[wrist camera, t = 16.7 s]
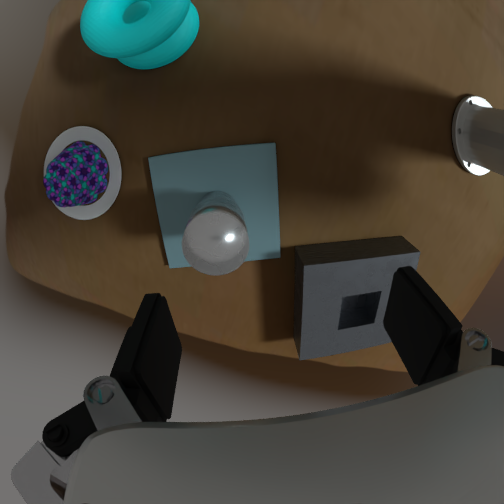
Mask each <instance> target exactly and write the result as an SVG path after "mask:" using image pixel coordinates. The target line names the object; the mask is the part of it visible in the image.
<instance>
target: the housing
mask: <svg viewBox="0 0 504 504" xmlns="http://www.w3.org/2000/svg"><path fill="white" fill-rule="evenodd" d="M419 256H420V251H419V250H418V249H416V248H415V247H414V246H413V245H412V244H411V243H410V242H408V241H407V240H406V239H405V238H404V237H403V236H395V237H385V238H374V239H364V240H353V241H343V242H332V243H322V244H312V245H301V246H295V293H294V336H293V337H294V341H295V345H296V349H297V352H298V356H299V360H305V359H311V358H317V357H323V356H329V355H334V354H340V353H345V352H350V351H355V350H359V349H364V348H368V347H373V346H377V345H381V344H385V343H389V342H392V341H391V339H390V337H389V335H388V334H387V332H386V330H385V328H384V325H383V319H384V315H385V311H386V307H387V302H388V298H389V294H390V289H391V284H392V280H393V275H394V272H396V271H397V269H398V268H399V267H405V266H412V267H413V268H414V269H415V270H416V269H417V265H418V260H419Z"/></svg>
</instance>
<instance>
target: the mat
mask: <svg viewBox="0 0 504 504" xmlns="http://www.w3.org/2000/svg"><path fill="white" fill-rule="evenodd" d="M148 160H149V167H150V173H151V179H152V185H153V191H154V196H155V202H156V207H157V212H158V217H159V222H160V227H161V232H162V237H163V241H164V246H165V250H166V255H167V259H168V263H169V267H170V268H178V267H189V266H191V265H190V264H189V263H188V262H187V260H186V258H185V256H184V254H183V251H182V238H183V234H184V231H185V228H186V225H187V222H188V219H189V216H190V214H191V212H192V210H193V208H194V207H195V206H196V205H197V204H198V203H199V202H200V201H201V200H202V198H203V197H204V196H205V195H206V194H208V193H210V192H213V191H222V192H226V193H228V194H229V195H230V196H232V197H233V199H234V200H235V202H236V204H237V205H238V206H239V207H240V209H241V210H242V212H243V214H244V217H245V223H246V228H247V233H248V238H249V252H248V255H247V257H246V259H245V261H252V260H262V259H272V258H280V230H279V203H278V181H277V161H276V143H259V144H246V145H234V146H224V147H215V148H206V149H198V150H191V151H184V152H177V153H170V154H164V155H158V156H153V157H149V158H148Z"/></svg>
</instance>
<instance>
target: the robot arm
mask: <svg viewBox="0 0 504 504" xmlns="http://www.w3.org/2000/svg"><path fill="white" fill-rule="evenodd" d="M452 140H453V146H454V150H455V153H456V156H457V158H458V160H459V162H460V164H461V165H462V167H463V168H464V169H465V170H466V171H468V172H470V173H472V174H475V175H484V174H486V173H488V172H489V171H490V170H491V171H493V172H496V173H498V174H500V175H503V176H504V110H501V109H496V108H493V107H492V106H491V105H490V104H489V102H487V101H486V100H485V99H484V98H482V97H479V96H467V97H465V98H464V99H462V100H461V101H460V103H459V104H458V106H457V108H456V110H455V113H454V116H453V122H452ZM383 325H384V328H385V330H386V332H387V334H388V335H389V337H390V339H391V341H392V343H393V344H394V346H395V348H396V350H397V352H398V354H399V356H400V357H401V359H402V361H403V363H404V365H405V367H406V369H407V371H408V373H409V375H410V377H411V378H412V380H413V382H414V384H417V385H418V386H417V387H414V388H411V389H408V390H405V391H401V392H398V393H395V394H391V395H388V396H385V397H381V398H377V399H374V400H370V401H366V402H362V403H358V404H353V405H349V406H344V407H340V408H335V409H329V410H324V411H318V412H313V413H307V414H300V415H293V416H285V417H277V418H268V419H258V420H244V421H226V422H166V420H167V419H170V418H171V413H172V407H173V400H174V394H175V388H176V382H177V376H178V370H179V364H180V359H181V352H182V347H181V342H180V339H179V337H178V334H177V331H176V328H175V325H174V322H173V319H172V316H171V313H170V310H169V307H168V304H167V301H166V298H165V297H164V296H162V297H161V295H160V293H152V294H145V296H144V298H143V300H142V303H141V305H140V307H139V310H138V312H137V314H136V317H135V319H134V322H133V324H132V326H131V327H129V328H128V330H127V332H126V335H125V337H124V340H123V343H122V345H121V347H120V350H119V353H118V355H117V358H116V360H115V363H114V366H113V368H112V371H111V374H110V376H100V377H97V378H95V379H93V380H92V381H90V382H89V383H88V384H87V386H86V387H85V390H84V394H83V397H84V401H83V402H81V403H80V404H78V405H76V406H75V407H73V408H71V409H70V410H68V411H66V412H65V413H63V414H61V415H60V416H58V417H56V418H55V419H53V420H51V421H50V422H49V423H48V424H47V425H46V426H45V427H44V430H43V441H42V442H41V443H40V442H39V441H37V442H36V443H35V445H34V446H33V447H32V448H31V449H30V450H29V451H28V452H27V453H26V454H25V455H24V456H23V457H22V458H21V459H20V461H19V462H18V463H17V464H16V465H15V466H14V468H13V469H12V473H11V478H12V482H13V484H14V485H15V487H16V488H17V490H18V491H19V493H20V494H21V495H22V497H23V499H24V500H25V501H26V503H27V504H504V352H503V351H500V350H497V349H494V348H492V347H491V346H492V344H491V340H490V338H489V336H488V335H487V334H486V333H485V332H483V331H482V330H480V329H477V328H468V329H466V330H465V331H464V332H462V330H461V328H462V324H461V323H460V322H459V321H458V319H457V318H456V317H455V316H454V314H453V313H452V312H451V311H450V309H449V308H448V307H447V306H446V305H445V303H444V302H443V301H442V300H441V299H440V297H439V296H438V295H437V294H436V293H435V292H434V291H433V289H432V288H431V287H430V286H429V285H428V284H427V283H426V281H425V280H424V279H423V278H422V277H421V276H420V275H419V274H418V273H417V272H416V270H415V269H414V268H413V267H412V266H405V267H399V268H398V269H397V271H396V272H394V275H393V280H392V284H391V289H390V294H389V298H388V302H387V307H386V311H385V315H384V319H383Z"/></svg>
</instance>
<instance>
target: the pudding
mask: <svg viewBox="0 0 504 504" xmlns="http://www.w3.org/2000/svg"><path fill="white" fill-rule="evenodd" d="M79 140H85V141H89V142H92V143H94V144H95V145H97V146H98V147H99V148H100V149H101V150H102V151H103V153H104V154H105V156H106V158H107V161H108V164H109V170H110V178H109V184H108V187H107V179H106V177H105V176H106V174H107V172H108V164H107V162H106V160H105V159H104V158H102V157H101V155H100V150H99V148H98V147H97V146H95V145H93V144H91V145H86V144H85V143H84V142H82V141H79ZM75 141H78V142H75ZM73 142H75V143H74V144H72V145H71V146H70V147H69V148H66V149H65V150H63V149H64V148H65V147H66V146H68V145H69V144H71V143H73ZM43 183H44V186H45V188H46V194H47V197H48V198H49V199H50V200H52V202H53V203H54V204H55V206H56V207H57V208H58V209H59V210H60V211H61V212H63V213H64V214H66V215H67V216H69V217H72V218H75V219H79V220H88V219H93V218H96V217H98V216H100V215H102V214H103V213H105V212H106V211H107V210H108V209H109V208H110V207H111V205H112V204H113V203H114V201H115V199H116V197H117V195H118V192H119V189H120V185H121V164H120V159H119V156H118V153H117V151H116V149H115V147H114V145H113V144H112V142H111V141H110V140H109V138H107V137H106V136H105V135H104V134H103V133H102V132H100V131H98V130H97V129H94V128H91V127H86V126H78V127H73V128H70V129H68V130H66V131H64V132H63V133H61V134H60V135H59V136H58V137H57V138H56V139H55V140H54V142H53V143H52V145H51V146H50V148H49V150H48V153H47V155H46V159H45V163H44V180H43ZM106 187H107V189H106ZM105 189H106V191H105V193H104V195H103V196H102V197H101V198H100V199H99V200H98V201H97V202H95V201H96V200H97V198H98V194H99V193H102V192H104V190H105ZM93 202H95V203H93ZM89 203H93V204H91V205H87V206H80V205H84V204H89Z"/></svg>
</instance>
